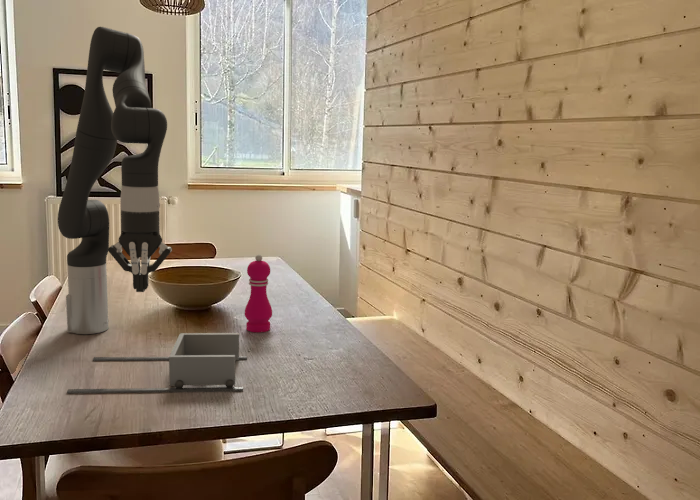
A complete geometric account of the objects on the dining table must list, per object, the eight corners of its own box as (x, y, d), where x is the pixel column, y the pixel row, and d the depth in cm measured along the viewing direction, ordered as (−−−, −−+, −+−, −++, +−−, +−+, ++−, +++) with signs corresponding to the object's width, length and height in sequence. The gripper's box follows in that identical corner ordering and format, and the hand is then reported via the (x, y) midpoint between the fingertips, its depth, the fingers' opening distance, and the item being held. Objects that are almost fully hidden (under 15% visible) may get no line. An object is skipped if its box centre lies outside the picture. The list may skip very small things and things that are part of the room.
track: (67, 393, 131) (66, 391, 131) (94, 359, 151) (94, 357, 151) (243, 391, 135) (243, 388, 135) (247, 358, 155) (247, 356, 155)
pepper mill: (267, 334, 173) (267, 258, 170) (240, 331, 175) (240, 256, 171) (275, 326, 180) (276, 253, 177) (250, 324, 182) (250, 251, 178)
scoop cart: (168, 389, 134) (168, 358, 133) (181, 359, 152) (180, 332, 151) (234, 388, 136) (234, 358, 135) (239, 358, 153) (239, 331, 152)
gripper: (101, 209, 132) (103, 295, 135) (170, 211, 133) (170, 296, 136) (111, 204, 139) (112, 286, 142) (176, 207, 140) (176, 287, 143)
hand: (141, 291), depth 139 cm, fingers closed
